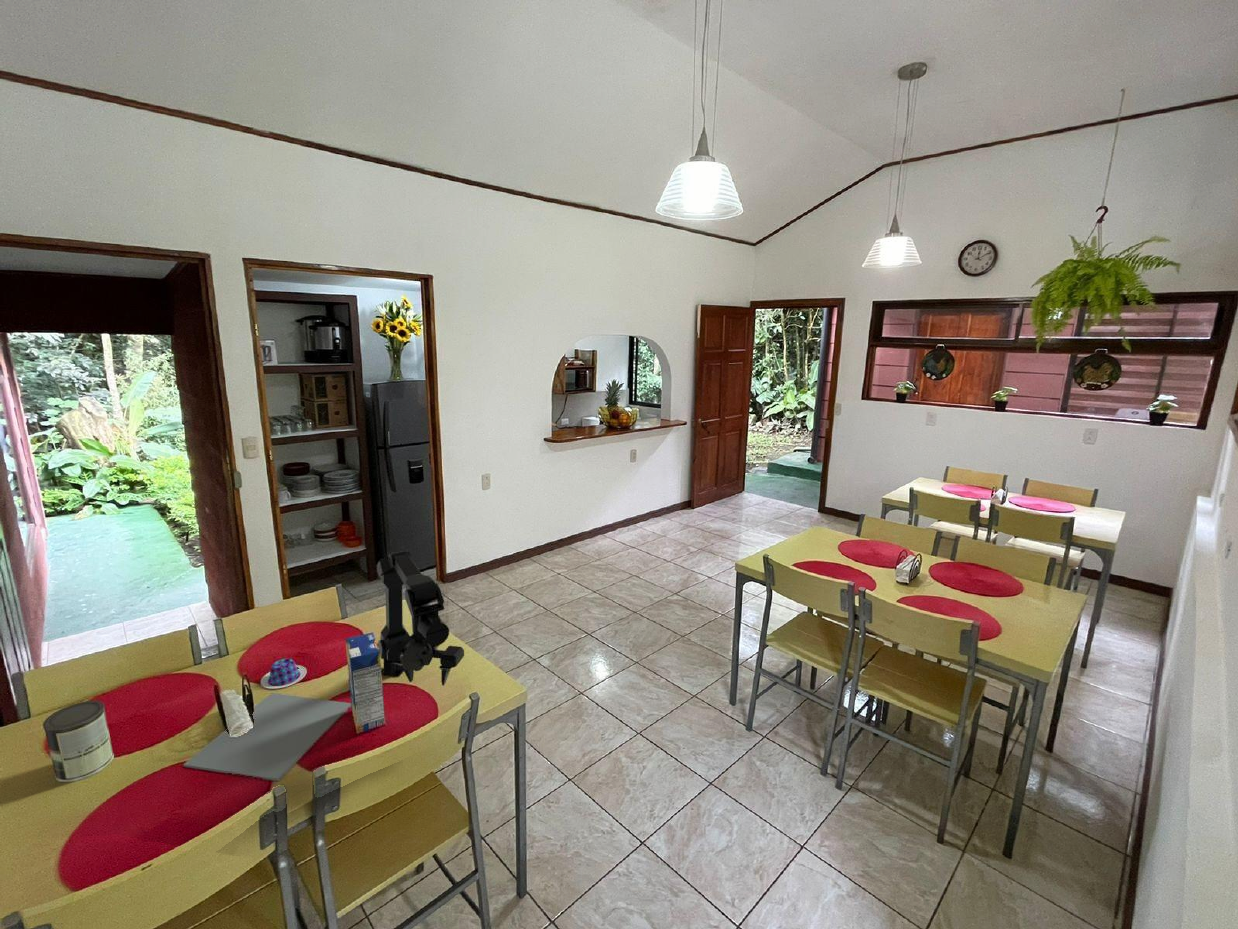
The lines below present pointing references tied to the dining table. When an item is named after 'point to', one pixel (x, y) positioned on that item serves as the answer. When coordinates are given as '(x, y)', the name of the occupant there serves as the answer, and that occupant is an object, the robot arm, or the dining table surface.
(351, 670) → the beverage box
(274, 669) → the pudding
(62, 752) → the coffee can
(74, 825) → the dining table surface
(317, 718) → the mat
